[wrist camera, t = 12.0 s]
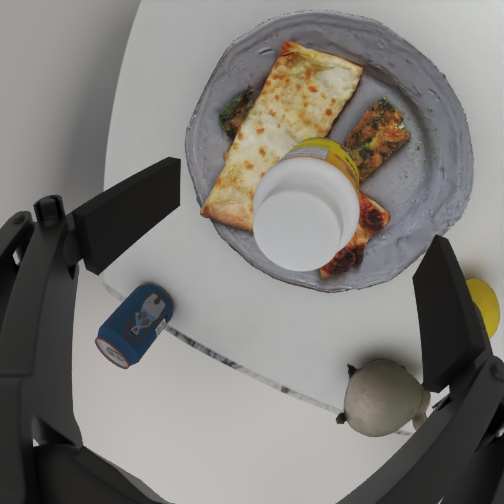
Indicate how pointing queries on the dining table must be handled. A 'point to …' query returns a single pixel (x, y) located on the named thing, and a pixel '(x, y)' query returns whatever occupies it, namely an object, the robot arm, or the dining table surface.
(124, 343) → the soda can
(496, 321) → the lemon
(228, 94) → the food plate
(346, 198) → the supplement bottle
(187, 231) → the dining table surface
